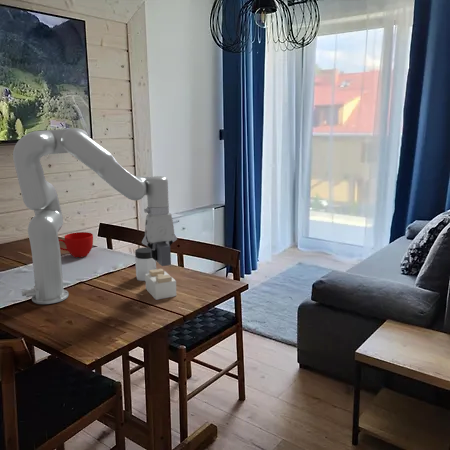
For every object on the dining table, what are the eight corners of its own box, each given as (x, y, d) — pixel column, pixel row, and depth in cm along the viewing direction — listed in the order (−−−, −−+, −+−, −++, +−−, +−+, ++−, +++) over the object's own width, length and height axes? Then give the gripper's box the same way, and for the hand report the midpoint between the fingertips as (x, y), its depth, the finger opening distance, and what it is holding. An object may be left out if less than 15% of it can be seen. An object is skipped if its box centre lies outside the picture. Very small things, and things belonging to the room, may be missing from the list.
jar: (135, 275, 188) (133, 247, 186) (154, 273, 191) (153, 246, 188) (137, 282, 180) (136, 253, 177) (157, 280, 182) (156, 252, 180)
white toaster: (155, 299, 163) (155, 280, 161) (145, 288, 173) (145, 270, 171) (176, 296, 166) (175, 276, 165) (165, 285, 177) (164, 267, 175)
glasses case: (162, 266, 160) (161, 247, 159) (150, 256, 172) (149, 238, 170) (170, 264, 162) (170, 246, 160) (159, 255, 173) (158, 237, 172)
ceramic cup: (56, 254, 216) (54, 234, 214) (91, 250, 223) (90, 231, 221) (58, 262, 205) (56, 241, 202) (96, 257, 212) (94, 237, 209)
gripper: (139, 214, 156) (141, 265, 160) (183, 210, 163) (184, 258, 167) (133, 211, 162) (135, 259, 166) (175, 206, 169) (177, 253, 174)
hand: (160, 258), depth 167 cm, fingers closed on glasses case, 3 cm apart
